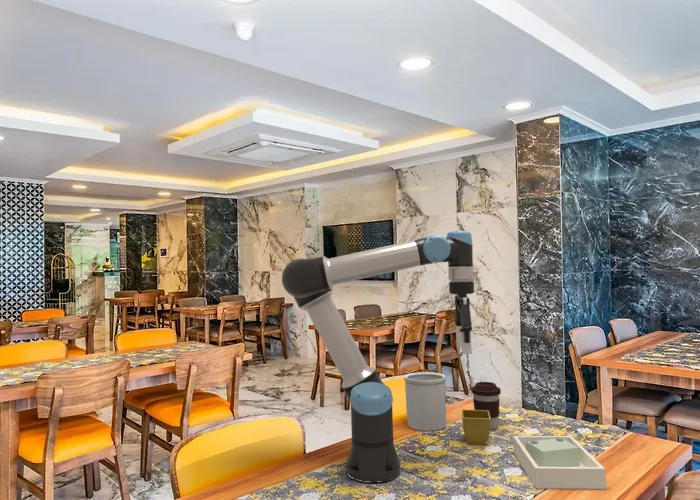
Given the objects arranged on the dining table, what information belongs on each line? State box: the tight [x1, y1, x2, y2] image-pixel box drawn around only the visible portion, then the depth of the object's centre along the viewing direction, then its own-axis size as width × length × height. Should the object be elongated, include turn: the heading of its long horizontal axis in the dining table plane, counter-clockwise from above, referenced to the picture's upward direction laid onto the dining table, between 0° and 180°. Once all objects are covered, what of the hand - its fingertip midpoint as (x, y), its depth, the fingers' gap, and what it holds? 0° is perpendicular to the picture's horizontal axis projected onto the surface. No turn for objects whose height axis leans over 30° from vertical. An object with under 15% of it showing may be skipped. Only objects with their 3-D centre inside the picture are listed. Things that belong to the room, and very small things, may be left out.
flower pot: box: [461, 409, 491, 446], centre depth 159 cm, size 9×9×9 cm
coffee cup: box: [470, 381, 502, 431], centre depth 173 cm, size 10×10×15 cm
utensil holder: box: [403, 371, 447, 432], centre depth 177 cm, size 15×15×18 cm
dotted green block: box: [527, 438, 580, 467], centre depth 138 cm, size 11×8×5 cm
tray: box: [512, 435, 607, 490], centre depth 136 cm, size 17×24×5 cm
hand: (463, 350), depth 152 cm, fingers open, 13 cm apart
